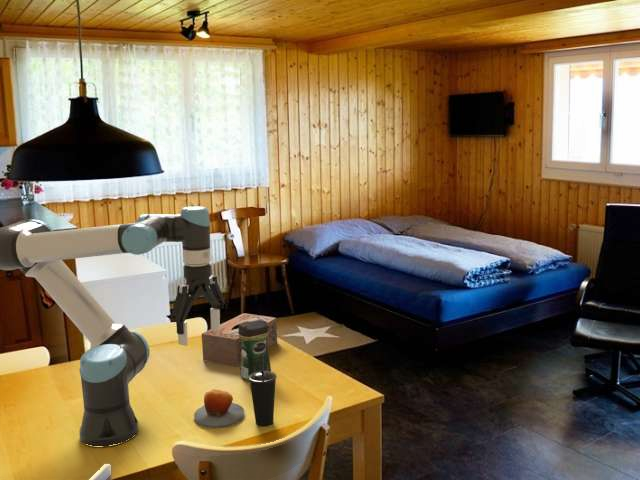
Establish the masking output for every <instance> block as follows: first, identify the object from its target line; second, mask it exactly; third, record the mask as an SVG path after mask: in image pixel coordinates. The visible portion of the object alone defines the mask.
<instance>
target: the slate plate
mask: <svg viewBox="0 0 640 480" xmlns="http://www.w3.org/2000/svg"><path fill="white" fill-rule="evenodd" d="M244 417H245V409H244V407H243V406H242V405H240V404H238V403H236V402H232V404H231V406H230V408H229V409H228V411H227V412H226V413H224V414H222V415H220V418H219V417H218V416H217V415H215V414H210V415H207V412H206V409H205V406H204V405H203V406H201V407H198V408H197V409H196V410H195V412H194V414H193V418H194V420H193V421H194V422H195V423H196V424H197V425H198V426H199V427H202V428H208V429H221V428H222V429H223V428H227V427H230V426H235V425H236V424H238V423H240V422H241V421H242V420H243V419H244Z"/></svg>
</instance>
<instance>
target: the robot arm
mask: <svg viewBox="0 0 640 480" xmlns="http://www.w3.org/2000/svg"><path fill="white" fill-rule="evenodd" d="M209 213H210V212H209V209H208V208H207V207H204V206H198V205H197V206H196V205H195V206H185V207H182V208H181V209H180V213H178V214H170V213H169V214H167V213H165V214H162V213H151V212H150V213H147V214H146V213H143V214H141V215H138V217H137V219H136V222H129V223H121V224H112V225H103V226H102V225H101V226H93V227H84V228H74V229H66V230H65V229H64V230H55V231H54V229H53V228H52V227H51V226H50V225H49V224H48V223H46V222H45V221H42V220H39V219H36V218H35V219H23V220H19V221H17V222H16V223H11V224H9V225H5V226H1V227H0V270H3V271H13V270H17V269H19V270H20V271H21V272H22V273H23V275H24V276H25V277H28V278H35V280H36V281H37V282H38V283H39V284H40V286H41V287H42V288H43V289H44V290H45V292H46V293H47V294H48V295H49V296H50V297H51V298H52V299H53V301H54V302H55V304H57V306H58V307H59V308H60V309H61V310H62V312H63V313H65V314H66V316H67V317H68V318H69V320H70V321H71V322H72V323H73V324H74V326H75V327H77V329H78V330H79V331H80V333H82V335H83V336H84V337H85V338H86V339H87V341H88V342H89V343H90V348H89V349H88V350H87V351H85V352H84V353H83V354H82V355H81V357H80V361H79V374H80V381H81V383H80V384H81V391H82V399H83V400H82V401H83V410H84V411H83V416H82V421H81V426H80V428H79V440H81V441H82V442H83V443H85V444H88V445H92V446H109V445H113V444H118V443H121V442H124V441H126V440H128V439H130V438H132V437H133V436H134V435H136V436H137V435H138V433H139V430H138V429H139V421H138V419H137V417H136V415H135V412H134V410H133V408H132V406H131V402H130V389H129V383H131V381H132V380H134V378H135V377H136V376H137V375H138V374H139V373H140V372H142V370H143V369H144V368H145V366H146V364H147V362H148V361H149V359H150V358H149V357H150V347H149V343H148V341H147V340H146V338H145V337H144V336H143V335H142V334H140V333H138V332H136V331H132V330H129V329H128V327H127V326H125V324H124V323H118V322H115V321H114V320H113V318H112V317H111V316H110V314H108V312H106V310H105V309H104V308H103V307H102V306H101V304H100V303H99V302H98V301H97V299H96V298H95V297H94V296H93V295H92V294H91V292H90V291H89V290H88V289H87V287H85V286H84V285H83V283H82V282H81V281H80V279H78V277H77V275H75V274H74V272H73V271H72V270H71V269H70V267H69V266H68V265H67V264H66V263H65V262H64V261H65V260H72V259H74V260H75V259H82V258H84V259H85V258H90V257H92V258H94V257H102V256H110V255H111V256H112V255H119V254H120V255H121V254H132V255H136V256H137V255H138V256H139V255H144V254H147V253H149V252H150V251H152V250H153V249H155V247H158V246H159V245H160V244H162V243H182V246H181V247H182V263H183V266H182V267H183V268H182V269H183V277H184V279H185V281H186V283H185V285H184V284H183V285H182V284H179V285H177V289H176V290H177V291H176V297H175V299H174V304H173V307H172V311H171V315H170V318H169V321H170V322H174V323H175V324H176V334H177V340H178V341H177V342H178V343H177V344H178V345H181V346H185V347H186V346H188V345H189V340H188V338H189V337H188V321H186V319H187V317H188V314H189V312H190V311H191V308H192V306H193V304H194V303H195V301H197V299H199V298H201V297H205V299H206V301H207V302H208V303H209V304H210V305H211V308H210V309H209V311H210V312H209V313H210V329H211V330H213V331H217V332H219V331H220V325H221V323H220V322H221V320H220V319H221V310H223V309H224V307H225V306H224V305H225V304H226V300H225V298H224V295H223V293H222V290H221V288H220V286H219V285H220V284H219V282H218V277H217V275H212V264H211V260H212V259H211V222H210V214H209ZM137 432H138V433H137ZM134 437H135V436H134ZM134 437H133V438H134ZM133 438H132V439H133ZM130 440H131V439H130ZM81 441H80V442H81ZM82 442H81V443H82ZM83 443H82V444H83ZM124 443H125V442H124Z"/></svg>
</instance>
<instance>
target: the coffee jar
mask: <svg viewBox="0 0 640 480" xmlns="http://www.w3.org/2000/svg"><path fill="white" fill-rule="evenodd" d="M238 335H239V338H240V340H241V365H240V376H241V377H242V378H243V379H244V380H247V381H249V379H248V377H249V375H250V374H252V373H255V372H257V371H261V359H260V354H263V371H269V372H272V368H271V367H272V366H271V360H270V355H269V353H270V352H269V348H268V345H267V339H268V335H269V330H268V325H267V322H266V321H264V320H262V319H259V320H255V321H250V322H246V323H240V324H239V331H238Z"/></svg>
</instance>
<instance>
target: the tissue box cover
mask: <svg viewBox="0 0 640 480" xmlns="http://www.w3.org/2000/svg"><path fill="white" fill-rule="evenodd" d="M259 319H262V320H264V321H266V322H267V325H268V330H269V335H268V339H267V345H268V349H270V348H272V347H273V346H276V345H277V344H278V329H277V328H278V326H277V324H278V323H277V317H272V316H266V315H261V314H260V315H258V314H252V313H251V314H250V313H241V314H239V315H237V316H235V317H233V318H231V319H229V320H227V321H225V322H223V323H220V331H219V332H217V331H213V330H211V328H210V329H208V330H207V331H204V332H202V333H201V346H202V360H203V361H205V362H209V363H210V362H211V363H214V364H221V365H226V366H231V367H236V368H237V367H241V340H240V338H239V335H238V331H239V324H240V323H246V322H250V321H255V320H259Z"/></svg>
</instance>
